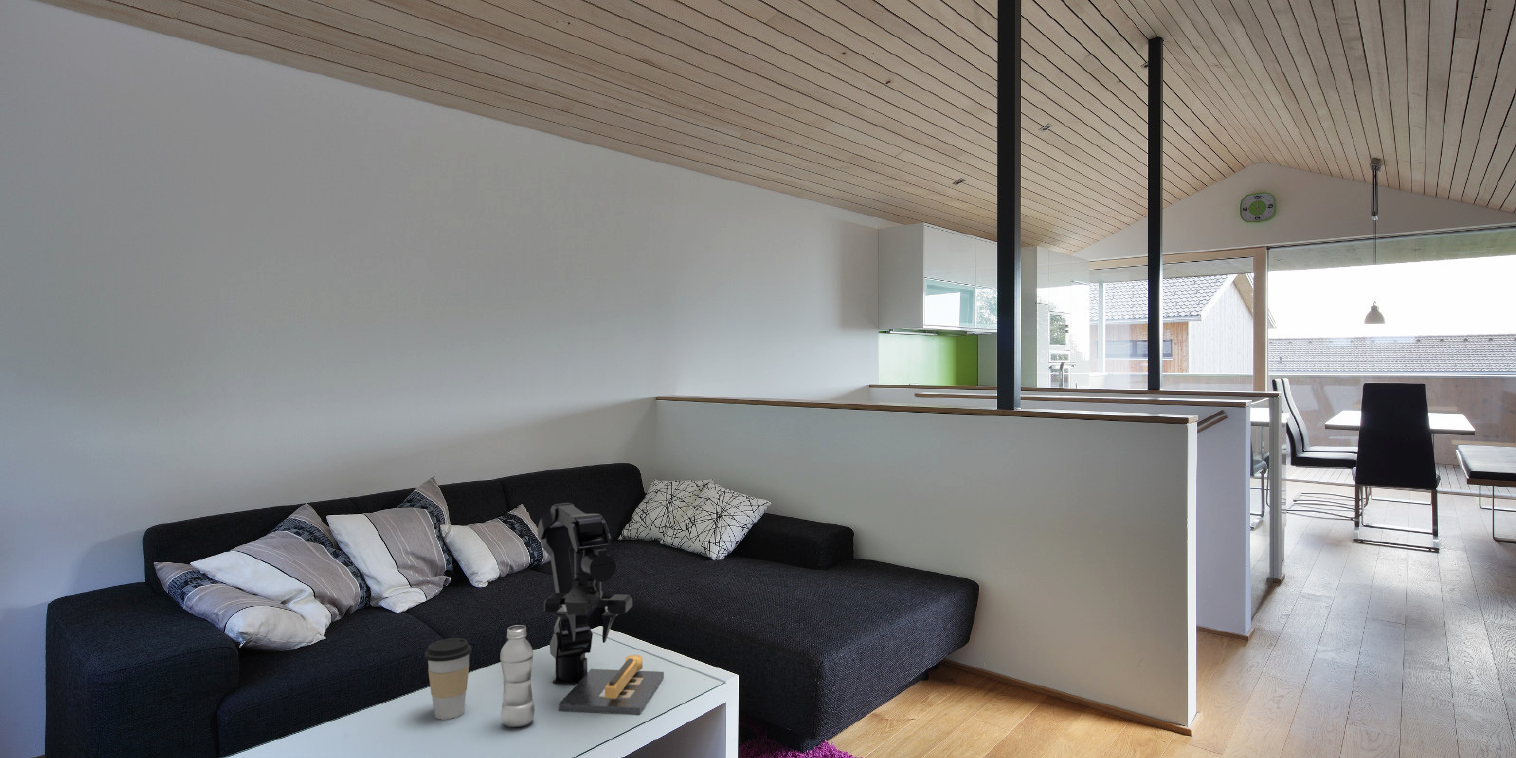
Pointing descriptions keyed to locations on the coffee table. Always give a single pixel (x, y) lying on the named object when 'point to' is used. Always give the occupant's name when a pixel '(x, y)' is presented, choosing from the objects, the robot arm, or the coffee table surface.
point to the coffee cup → (448, 676)
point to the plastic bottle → (517, 678)
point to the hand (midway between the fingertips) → (588, 641)
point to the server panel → (629, 701)
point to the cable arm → (623, 676)
